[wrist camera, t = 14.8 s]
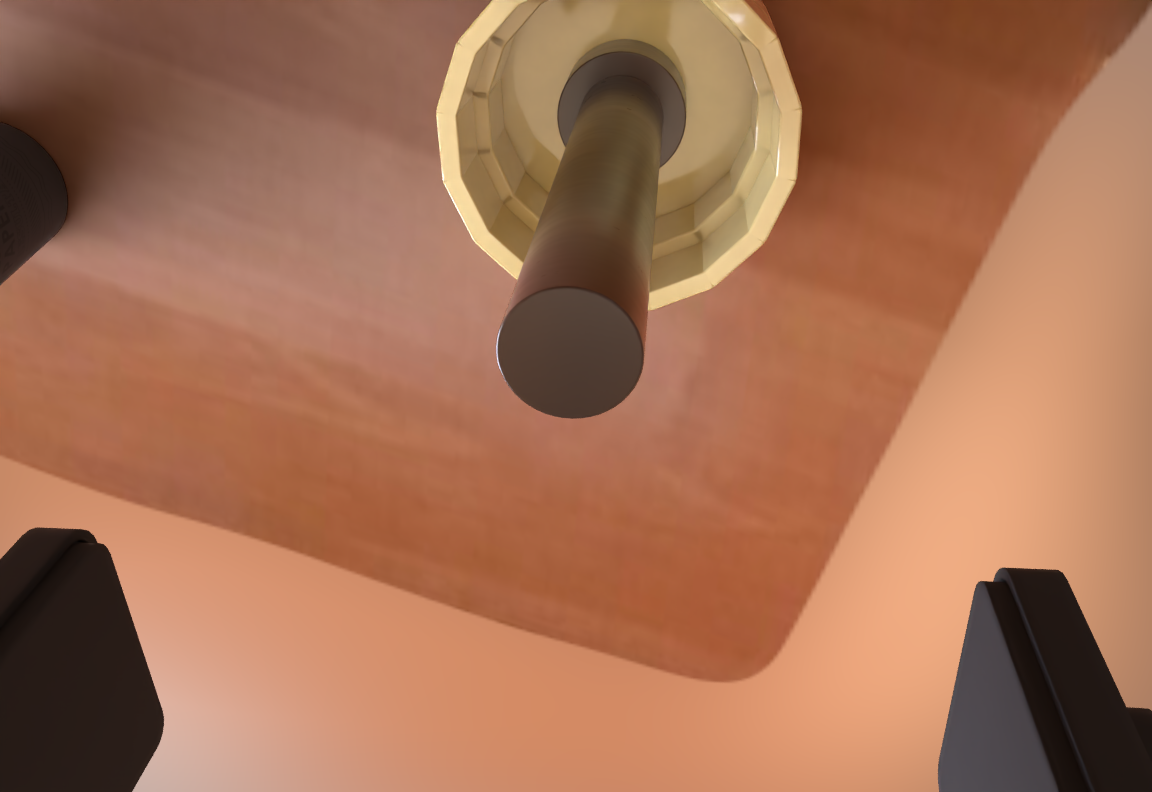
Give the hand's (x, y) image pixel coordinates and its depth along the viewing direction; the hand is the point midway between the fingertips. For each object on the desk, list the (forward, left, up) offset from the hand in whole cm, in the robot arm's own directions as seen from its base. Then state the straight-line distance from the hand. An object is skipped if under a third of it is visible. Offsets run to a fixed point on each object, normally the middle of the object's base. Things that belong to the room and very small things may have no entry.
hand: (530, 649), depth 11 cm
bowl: (0, 0, -26) cm, 26 cm away
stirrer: (0, 0, -26) cm, 26 cm away
